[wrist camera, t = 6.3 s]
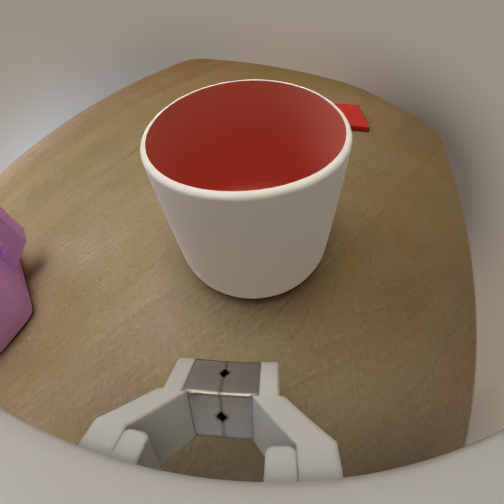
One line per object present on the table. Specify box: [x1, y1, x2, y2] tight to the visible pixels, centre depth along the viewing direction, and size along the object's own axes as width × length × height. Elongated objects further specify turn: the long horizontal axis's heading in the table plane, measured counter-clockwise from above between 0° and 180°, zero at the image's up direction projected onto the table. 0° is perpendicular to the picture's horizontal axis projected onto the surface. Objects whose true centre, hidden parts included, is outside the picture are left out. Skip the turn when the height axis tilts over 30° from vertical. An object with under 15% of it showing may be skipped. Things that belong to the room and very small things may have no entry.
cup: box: [140, 80, 352, 299], centre depth 17 cm, size 10×10×10 cm
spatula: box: [334, 103, 369, 131], centre depth 29 cm, size 21×5×2 cm, turn 88°
